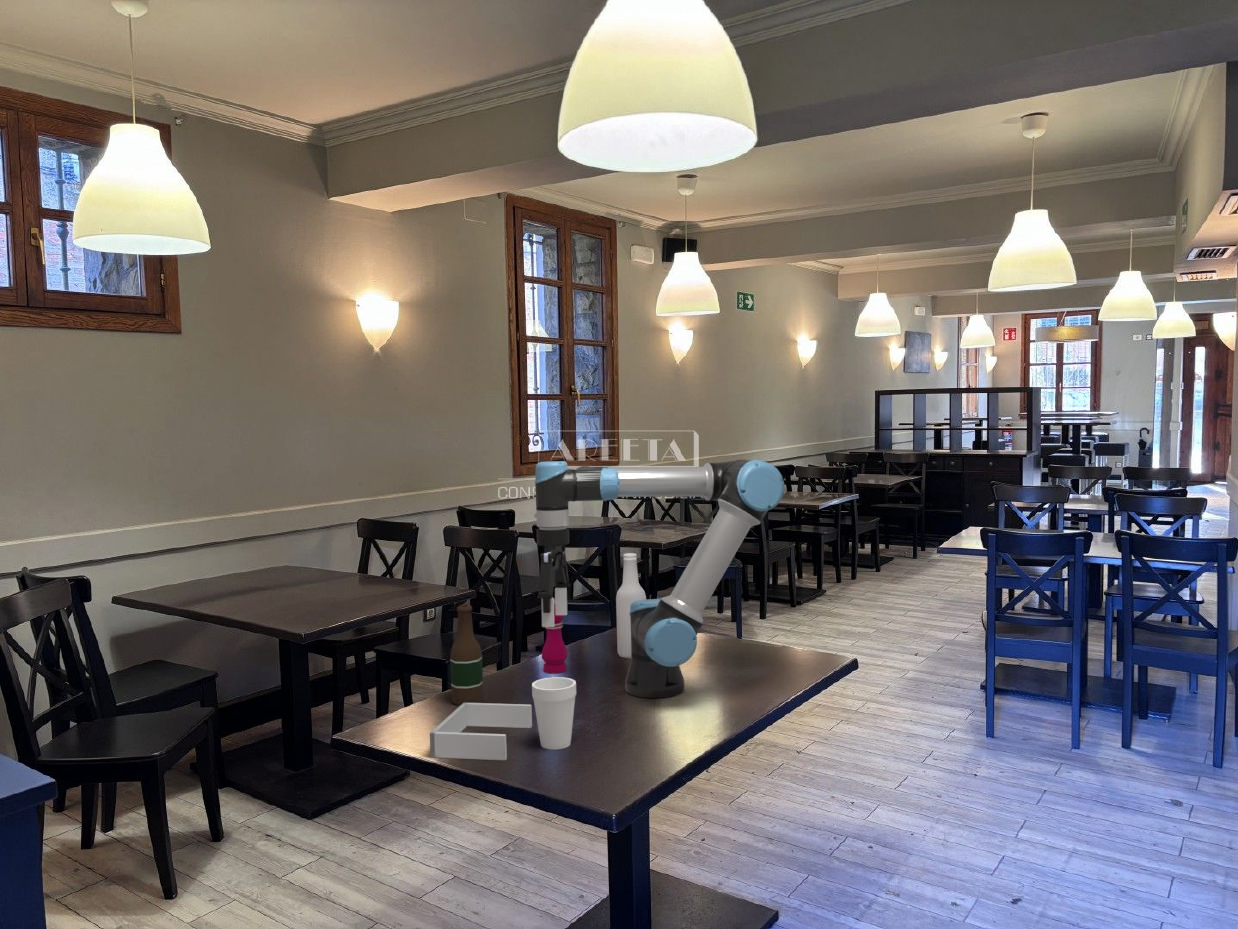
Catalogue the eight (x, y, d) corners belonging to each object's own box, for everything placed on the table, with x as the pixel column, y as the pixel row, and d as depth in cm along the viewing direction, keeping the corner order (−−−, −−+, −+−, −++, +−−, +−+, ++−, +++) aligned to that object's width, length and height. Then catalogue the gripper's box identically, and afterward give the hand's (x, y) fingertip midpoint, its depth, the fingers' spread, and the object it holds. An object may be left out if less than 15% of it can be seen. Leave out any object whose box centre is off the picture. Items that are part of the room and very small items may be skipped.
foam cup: (534, 737, 186) (532, 678, 186) (576, 735, 187) (575, 676, 186) (533, 753, 177) (531, 691, 176) (578, 751, 178) (576, 689, 177)
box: (532, 726, 193) (531, 704, 193) (505, 760, 173) (504, 736, 173) (464, 724, 196) (463, 702, 196) (430, 757, 176) (429, 733, 176)
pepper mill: (564, 674, 234) (562, 602, 233) (538, 673, 236) (536, 601, 235) (570, 667, 241) (568, 596, 240) (546, 666, 243) (544, 596, 242)
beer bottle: (468, 708, 207) (465, 610, 206) (445, 703, 211) (441, 607, 210) (490, 699, 214) (486, 604, 213) (466, 695, 218) (463, 601, 217)
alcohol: (620, 660, 248) (618, 556, 247) (614, 652, 256) (612, 552, 255) (650, 657, 249) (647, 555, 248) (643, 650, 258) (641, 551, 257)
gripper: (550, 522, 211) (552, 609, 212) (522, 534, 188) (525, 632, 188) (579, 522, 210) (582, 610, 211) (555, 534, 186) (558, 632, 187)
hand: (555, 620), depth 200 cm, fingers open, 12 cm apart
